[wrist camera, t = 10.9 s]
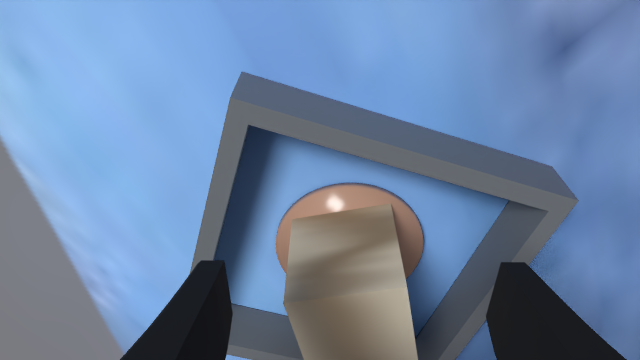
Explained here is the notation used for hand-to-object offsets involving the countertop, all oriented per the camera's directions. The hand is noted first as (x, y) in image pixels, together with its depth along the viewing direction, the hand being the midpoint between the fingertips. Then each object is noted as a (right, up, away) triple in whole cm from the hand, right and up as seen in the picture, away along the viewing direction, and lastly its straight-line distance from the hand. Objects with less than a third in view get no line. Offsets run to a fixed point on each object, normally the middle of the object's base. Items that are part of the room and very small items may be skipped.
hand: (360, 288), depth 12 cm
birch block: (0, 0, +10) cm, 10 cm away
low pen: (0, 0, +10) cm, 10 cm away
